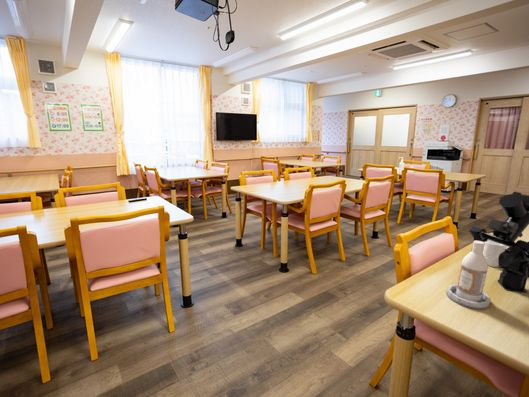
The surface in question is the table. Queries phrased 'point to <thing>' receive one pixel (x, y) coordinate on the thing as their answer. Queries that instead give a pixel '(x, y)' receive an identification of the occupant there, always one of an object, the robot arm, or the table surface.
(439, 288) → the table surface
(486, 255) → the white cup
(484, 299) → the round grey tray
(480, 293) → the bath foam
